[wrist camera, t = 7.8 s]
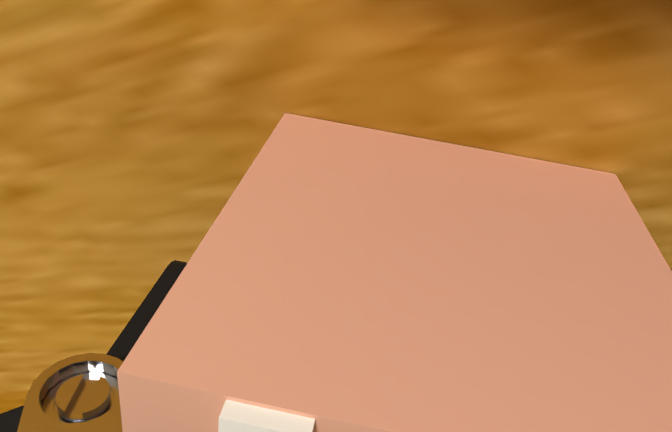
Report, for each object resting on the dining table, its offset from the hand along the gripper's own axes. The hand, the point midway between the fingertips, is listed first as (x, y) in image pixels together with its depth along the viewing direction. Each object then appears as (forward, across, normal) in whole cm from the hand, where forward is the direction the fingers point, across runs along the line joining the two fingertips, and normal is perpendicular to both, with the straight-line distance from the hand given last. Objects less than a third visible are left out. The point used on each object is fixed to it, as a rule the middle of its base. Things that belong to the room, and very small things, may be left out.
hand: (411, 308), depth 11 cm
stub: (+1, 0, 0) cm, 1 cm away
